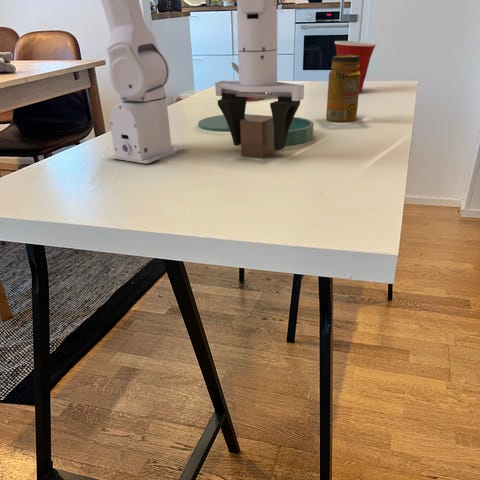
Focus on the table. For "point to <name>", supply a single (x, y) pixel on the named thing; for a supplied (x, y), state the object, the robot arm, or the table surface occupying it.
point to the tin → (299, 131)
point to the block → (257, 136)
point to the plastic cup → (360, 50)
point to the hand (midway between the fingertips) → (258, 146)
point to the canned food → (247, 92)
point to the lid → (216, 123)
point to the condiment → (343, 89)
